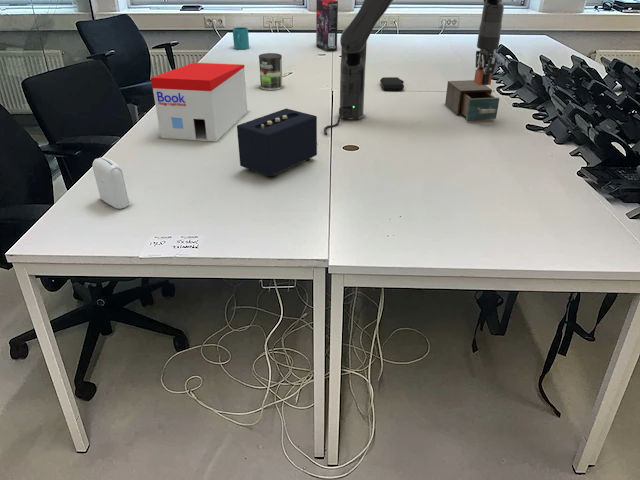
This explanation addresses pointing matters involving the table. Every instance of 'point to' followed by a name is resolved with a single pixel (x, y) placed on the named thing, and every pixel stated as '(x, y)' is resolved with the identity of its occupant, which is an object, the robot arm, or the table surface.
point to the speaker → (277, 141)
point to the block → (480, 77)
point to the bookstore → (199, 100)
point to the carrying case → (392, 83)
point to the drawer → (479, 105)
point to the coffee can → (270, 71)
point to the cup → (240, 38)
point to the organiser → (456, 92)
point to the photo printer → (110, 182)
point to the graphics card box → (326, 24)
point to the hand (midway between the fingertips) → (482, 82)
